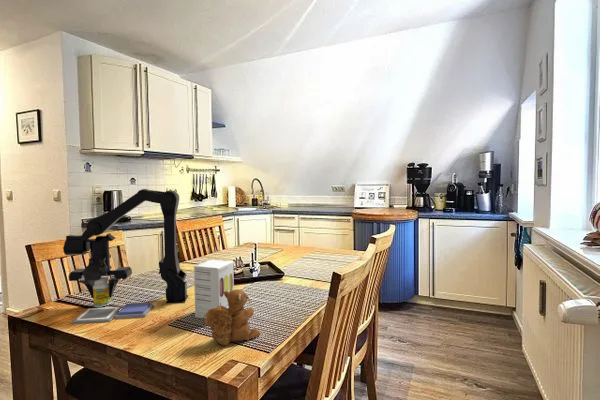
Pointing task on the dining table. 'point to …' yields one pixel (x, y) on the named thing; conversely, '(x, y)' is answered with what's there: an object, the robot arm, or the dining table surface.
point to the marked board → (97, 315)
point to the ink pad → (134, 310)
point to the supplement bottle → (101, 292)
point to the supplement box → (212, 285)
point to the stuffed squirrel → (231, 319)
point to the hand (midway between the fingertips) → (102, 297)
